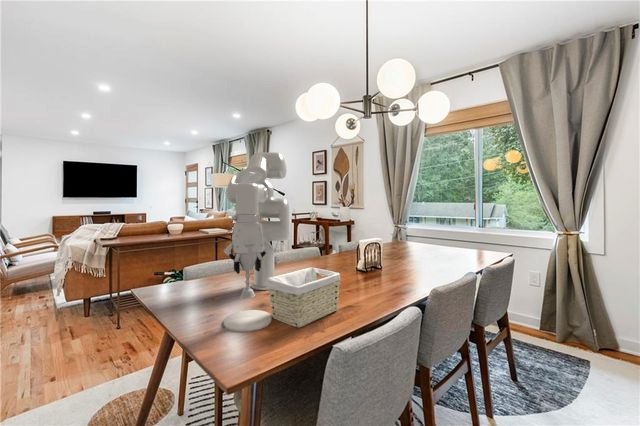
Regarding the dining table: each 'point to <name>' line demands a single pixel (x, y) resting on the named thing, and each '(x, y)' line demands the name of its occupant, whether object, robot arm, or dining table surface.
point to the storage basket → (303, 295)
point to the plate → (247, 320)
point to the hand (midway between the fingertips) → (247, 271)
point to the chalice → (248, 269)
